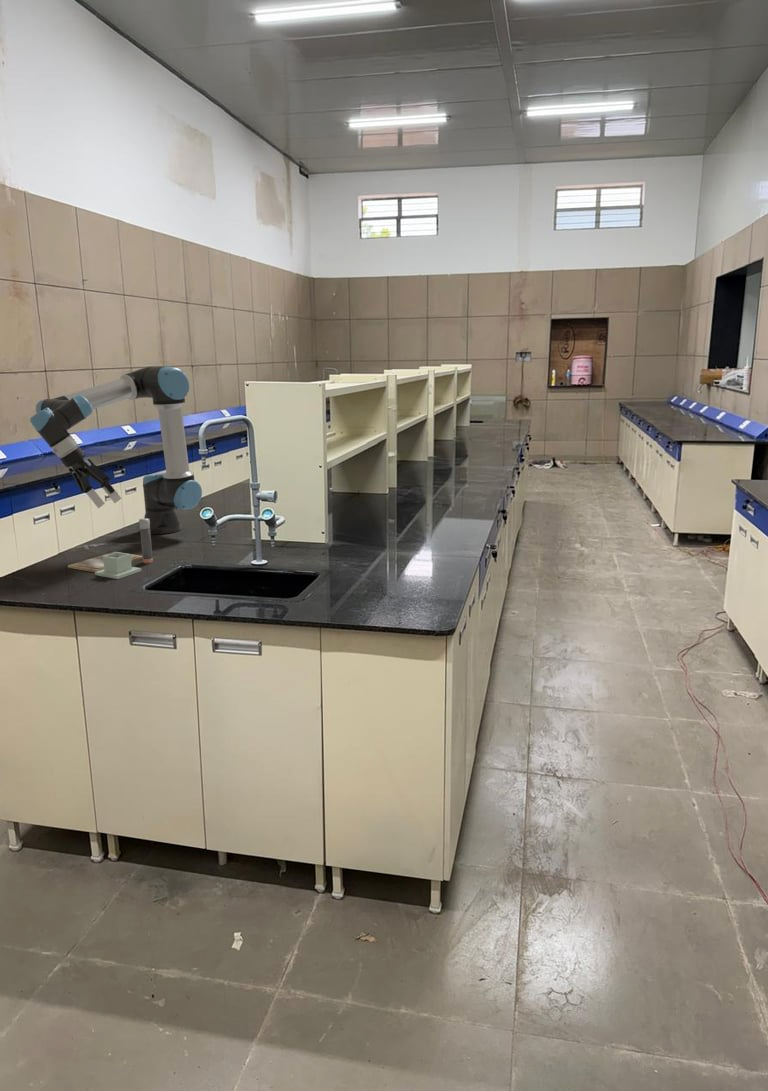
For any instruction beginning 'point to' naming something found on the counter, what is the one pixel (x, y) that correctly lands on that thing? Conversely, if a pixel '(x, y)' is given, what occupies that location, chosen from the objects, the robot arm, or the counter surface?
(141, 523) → the marker
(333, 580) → the counter surface
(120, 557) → the square socket holder
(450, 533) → the counter surface
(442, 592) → the counter surface
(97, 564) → the clipboard
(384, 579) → the counter surface
